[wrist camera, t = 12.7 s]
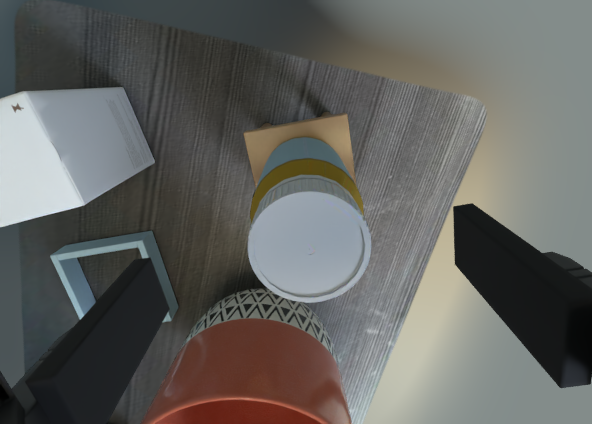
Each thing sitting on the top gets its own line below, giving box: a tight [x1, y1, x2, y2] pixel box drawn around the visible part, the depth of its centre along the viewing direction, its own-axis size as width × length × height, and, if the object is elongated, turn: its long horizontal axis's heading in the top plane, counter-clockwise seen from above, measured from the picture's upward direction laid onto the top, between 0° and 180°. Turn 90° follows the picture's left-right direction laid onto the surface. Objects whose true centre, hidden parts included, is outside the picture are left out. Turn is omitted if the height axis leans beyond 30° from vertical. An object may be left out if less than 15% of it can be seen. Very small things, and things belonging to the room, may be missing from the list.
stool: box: [243, 112, 356, 187], centre depth 36 cm, size 9×9×10 cm
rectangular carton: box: [0, 87, 155, 227], centre depth 33 cm, size 9×9×15 cm
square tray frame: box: [50, 231, 179, 322], centre depth 45 cm, size 12×12×3 cm
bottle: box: [247, 137, 372, 303], centre depth 24 cm, size 7×7×15 cm
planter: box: [140, 288, 352, 424], centre depth 39 cm, size 20×20×21 cm
